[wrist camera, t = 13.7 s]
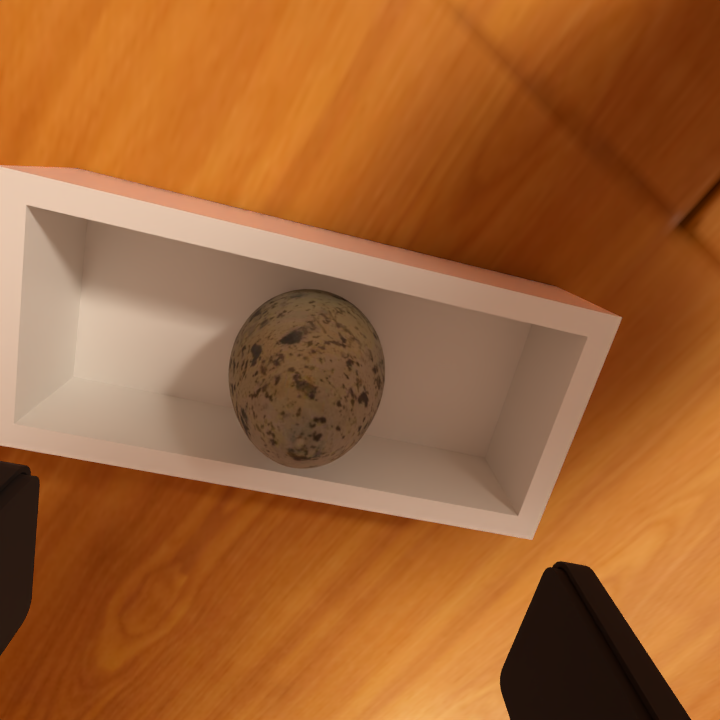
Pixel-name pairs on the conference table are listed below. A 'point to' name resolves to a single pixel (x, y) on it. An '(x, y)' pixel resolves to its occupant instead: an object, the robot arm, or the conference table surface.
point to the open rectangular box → (225, 319)
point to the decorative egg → (306, 377)
